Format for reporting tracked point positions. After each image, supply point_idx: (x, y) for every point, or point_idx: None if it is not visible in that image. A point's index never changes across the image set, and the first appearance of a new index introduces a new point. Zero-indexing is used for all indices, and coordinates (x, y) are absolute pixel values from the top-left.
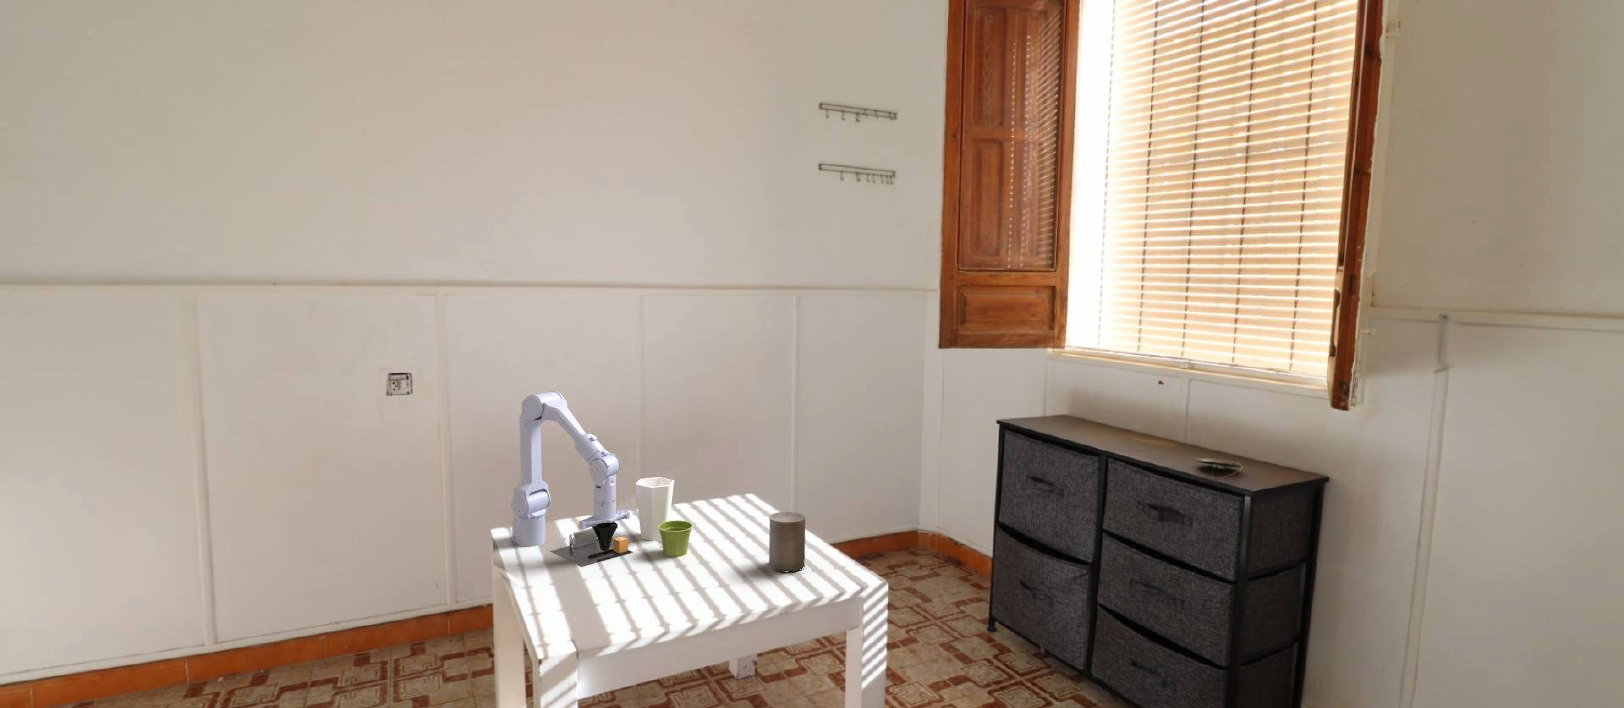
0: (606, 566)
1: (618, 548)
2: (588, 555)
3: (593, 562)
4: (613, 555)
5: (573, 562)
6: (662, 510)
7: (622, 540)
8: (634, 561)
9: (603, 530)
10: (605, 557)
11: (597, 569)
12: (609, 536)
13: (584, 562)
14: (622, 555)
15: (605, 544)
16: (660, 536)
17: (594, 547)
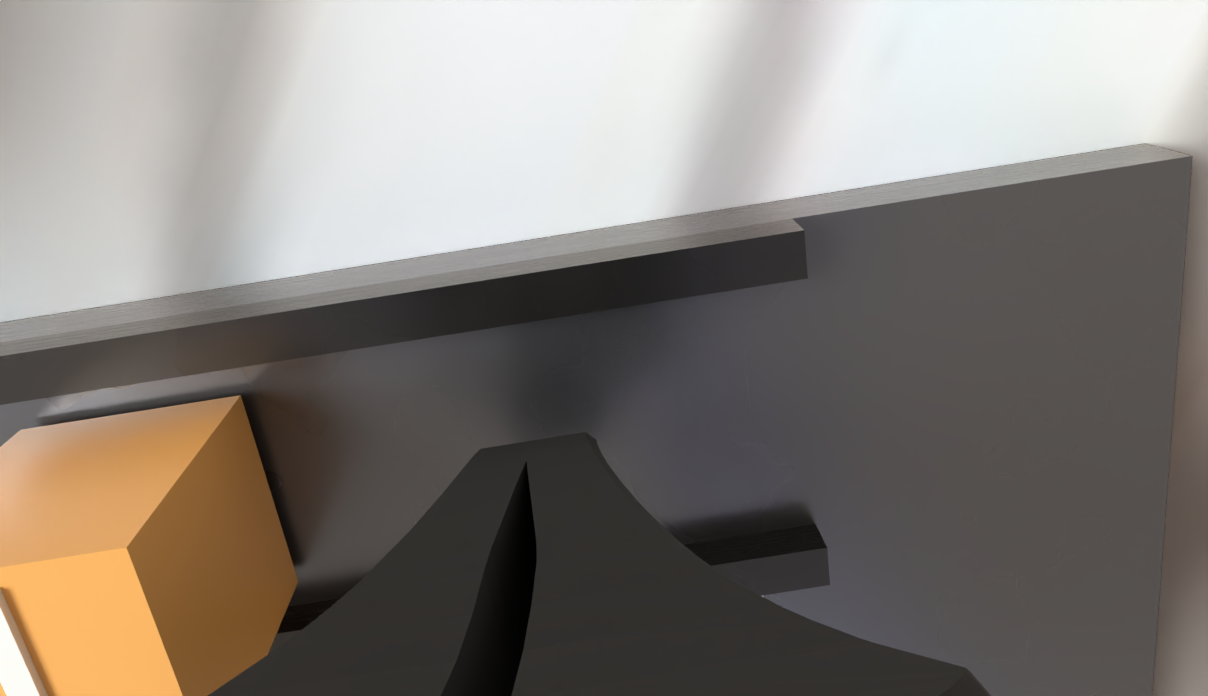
0: (661, 84)
1: (215, 476)
2: (827, 571)
3: (879, 260)
4: (414, 305)
5: (1157, 460)
6: None
7: (22, 561)
8: (32, 14)
9: (930, 683)
10: (616, 283)
11: (882, 31)
12: (458, 602)
13: (1012, 354)
14: (202, 308)
15: (595, 480)
16: None
17: None
